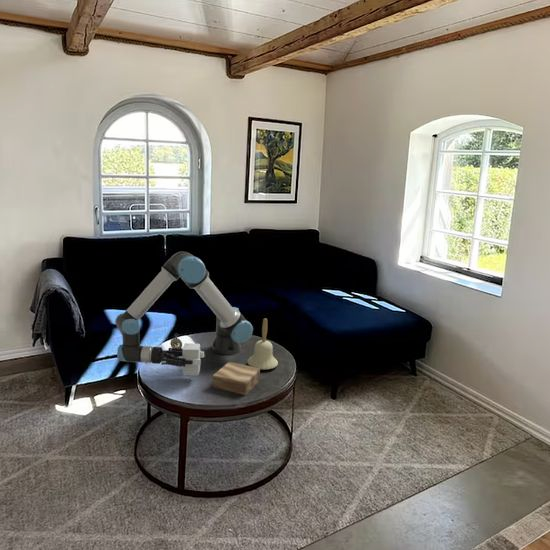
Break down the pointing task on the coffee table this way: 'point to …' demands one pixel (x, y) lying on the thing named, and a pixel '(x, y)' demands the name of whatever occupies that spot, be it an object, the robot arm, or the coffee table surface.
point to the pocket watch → (176, 342)
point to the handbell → (263, 352)
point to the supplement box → (193, 353)
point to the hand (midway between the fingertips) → (202, 358)
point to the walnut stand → (236, 378)
